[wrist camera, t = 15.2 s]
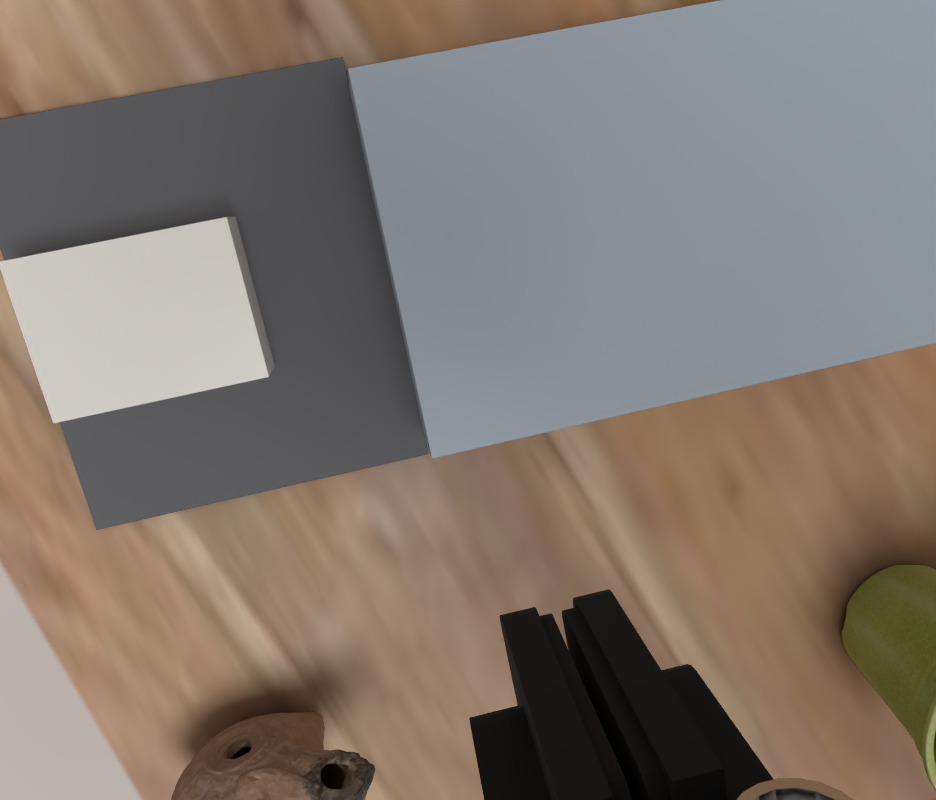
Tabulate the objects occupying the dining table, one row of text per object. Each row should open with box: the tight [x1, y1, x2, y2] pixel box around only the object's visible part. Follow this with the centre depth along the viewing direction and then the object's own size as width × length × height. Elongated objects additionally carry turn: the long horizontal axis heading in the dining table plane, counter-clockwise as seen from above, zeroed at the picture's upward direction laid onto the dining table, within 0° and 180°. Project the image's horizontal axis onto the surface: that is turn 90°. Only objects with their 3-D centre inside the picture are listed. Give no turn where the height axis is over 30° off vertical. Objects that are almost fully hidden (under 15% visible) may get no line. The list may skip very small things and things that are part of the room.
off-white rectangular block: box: [0, 216, 275, 423], centre depth 30 cm, size 8×6×2 cm
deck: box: [348, 0, 936, 458], centre depth 31 cm, size 22×14×4 cm, turn 101°
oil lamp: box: [171, 712, 375, 800], centre depth 32 cm, size 9×4×8 cm, turn 113°
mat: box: [0, 57, 429, 530], centre depth 31 cm, size 14×16×1 cm
